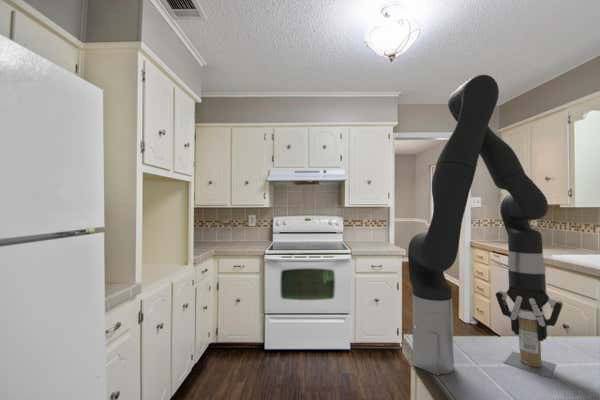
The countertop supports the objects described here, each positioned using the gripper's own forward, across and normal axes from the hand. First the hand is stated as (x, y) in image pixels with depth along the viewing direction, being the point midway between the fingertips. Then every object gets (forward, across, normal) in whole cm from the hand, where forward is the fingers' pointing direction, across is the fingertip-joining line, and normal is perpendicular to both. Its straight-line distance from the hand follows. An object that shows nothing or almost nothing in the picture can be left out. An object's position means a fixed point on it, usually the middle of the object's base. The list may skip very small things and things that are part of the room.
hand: (529, 336), depth 73 cm
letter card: (+7, 0, 0) cm, 7 cm away
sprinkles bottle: (+7, 0, 0) cm, 7 cm away
